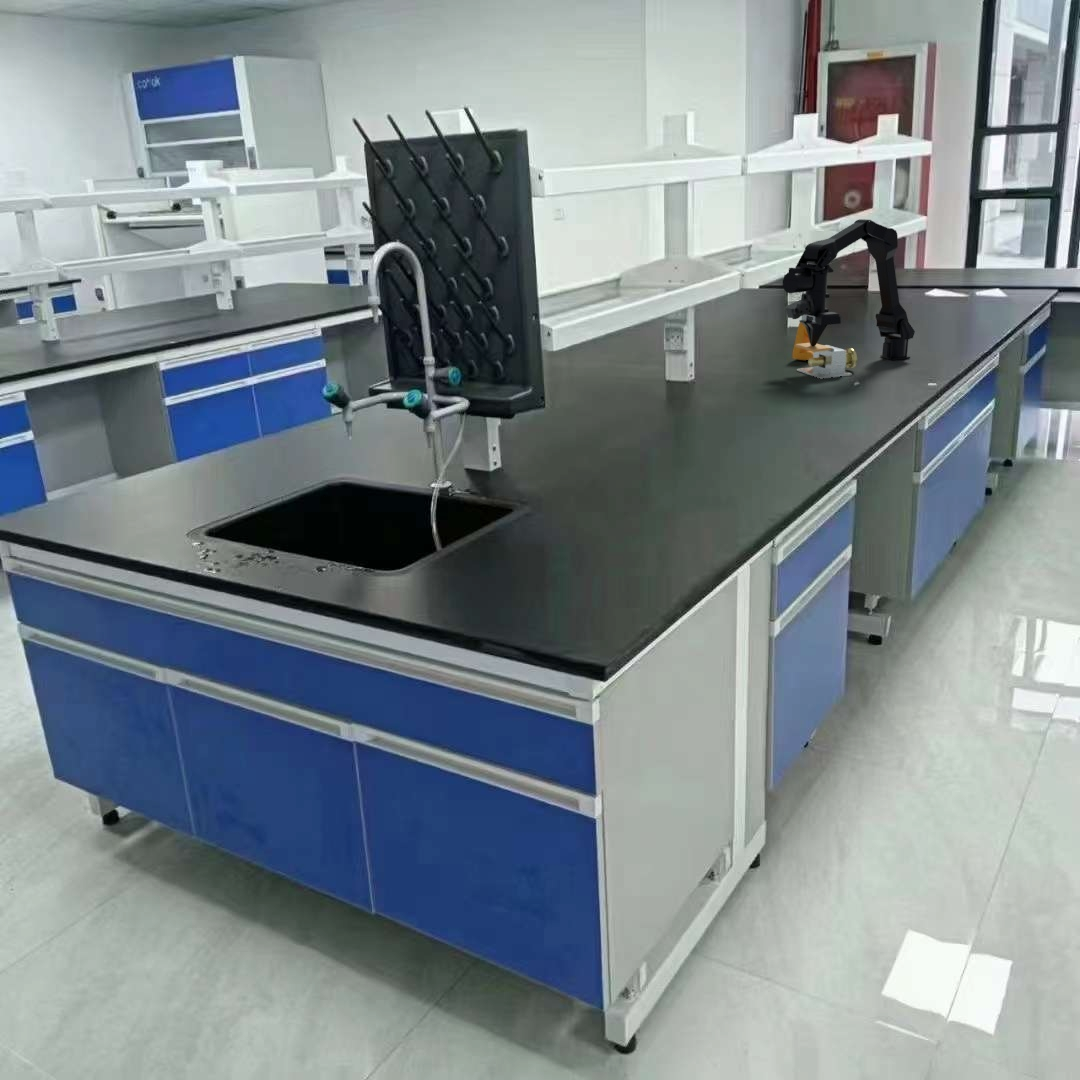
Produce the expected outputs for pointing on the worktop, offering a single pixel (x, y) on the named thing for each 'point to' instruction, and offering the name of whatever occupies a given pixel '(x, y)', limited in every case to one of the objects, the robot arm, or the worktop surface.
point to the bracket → (801, 338)
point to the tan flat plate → (814, 347)
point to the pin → (850, 359)
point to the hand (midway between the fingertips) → (812, 345)
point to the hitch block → (828, 364)
